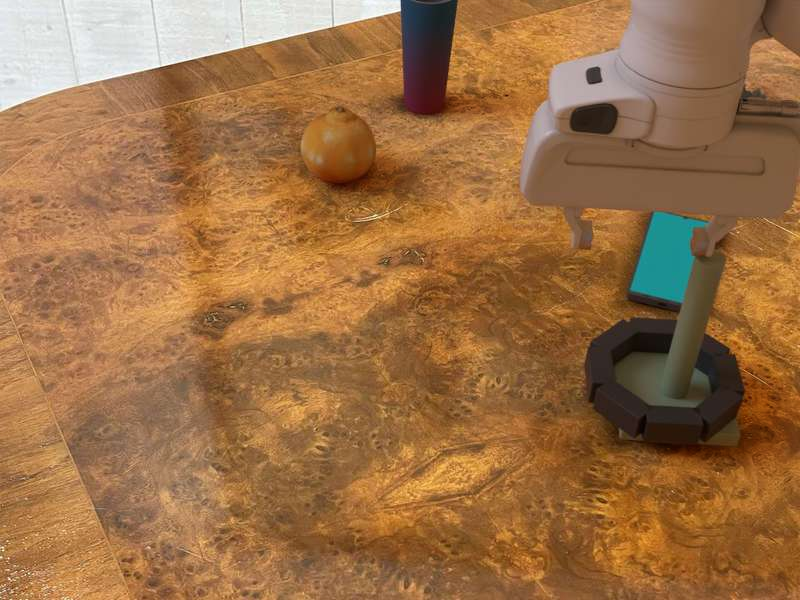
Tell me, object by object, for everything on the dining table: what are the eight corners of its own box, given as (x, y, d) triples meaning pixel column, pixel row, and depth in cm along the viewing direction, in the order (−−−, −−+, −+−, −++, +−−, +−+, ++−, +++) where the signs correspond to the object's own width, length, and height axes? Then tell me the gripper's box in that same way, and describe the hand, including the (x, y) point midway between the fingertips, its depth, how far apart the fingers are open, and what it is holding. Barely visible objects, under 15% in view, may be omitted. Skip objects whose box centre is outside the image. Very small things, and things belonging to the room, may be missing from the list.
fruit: (354, 122, 125) (328, 84, 118) (399, 158, 121) (375, 119, 114) (305, 172, 124) (276, 136, 117) (349, 209, 120) (322, 174, 113)
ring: (720, 341, 99) (726, 322, 97) (748, 448, 89) (755, 428, 88) (580, 334, 99) (584, 314, 98) (592, 439, 90) (596, 419, 88)
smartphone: (626, 292, 105) (652, 208, 116) (625, 298, 105) (650, 214, 116) (701, 310, 103) (721, 224, 114) (699, 317, 104) (719, 230, 114)
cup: (459, 97, 134) (467, -16, 124) (438, 123, 129) (445, 8, 120) (410, 85, 136) (414, -27, 126) (387, 110, 131) (390, -5, 122)
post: (717, 365, 99) (761, 222, 88) (736, 447, 91) (788, 301, 80) (609, 358, 99) (640, 215, 88) (619, 439, 92) (655, 294, 81)
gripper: (812, 80, 77) (764, 232, 86) (530, 64, 78) (512, 217, 87) (834, 126, 73) (780, 281, 82) (533, 109, 73) (513, 266, 82)
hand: (640, 248), depth 84 cm, fingers open, 8 cm apart
